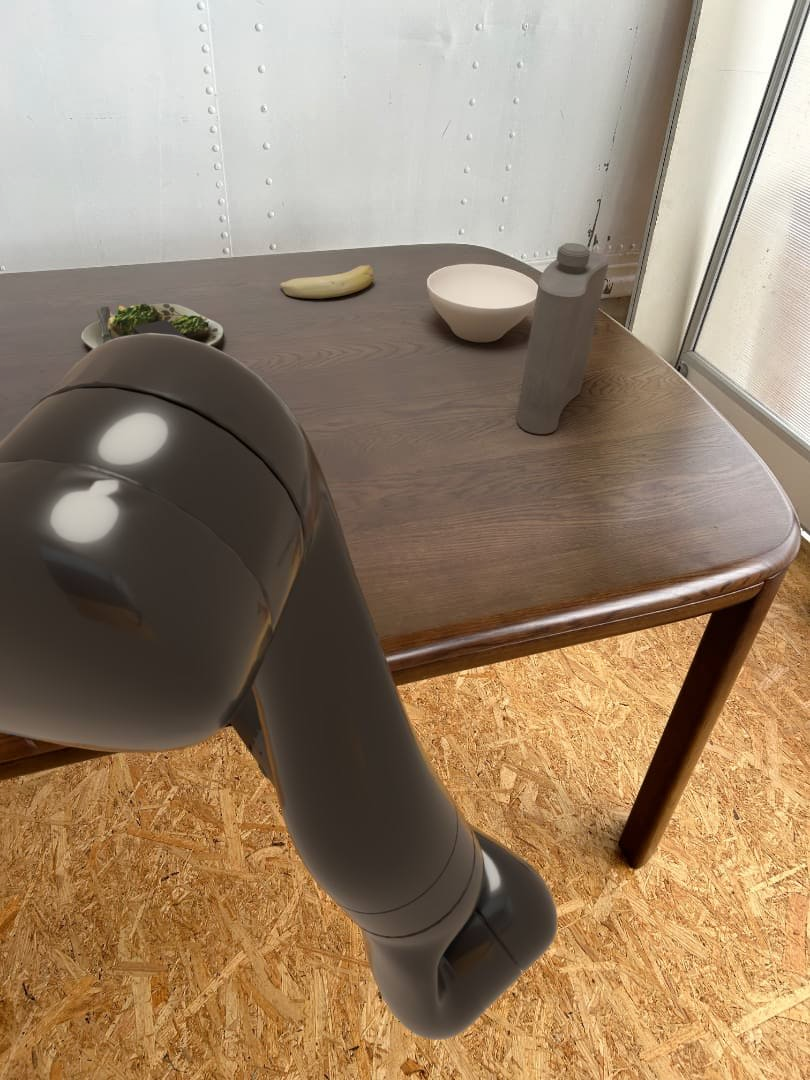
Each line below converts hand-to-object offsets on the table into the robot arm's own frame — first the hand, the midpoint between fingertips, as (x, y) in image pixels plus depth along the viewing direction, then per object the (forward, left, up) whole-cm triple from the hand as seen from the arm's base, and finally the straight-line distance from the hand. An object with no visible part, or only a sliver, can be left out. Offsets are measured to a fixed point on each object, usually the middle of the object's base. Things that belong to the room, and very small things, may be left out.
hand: (198, 590), depth 62 cm
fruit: (+33, +68, -6) cm, 76 cm away
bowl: (+49, +48, -6) cm, 69 cm away
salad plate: (+4, +56, -6) cm, 56 cm away
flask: (+48, +26, -6) cm, 55 cm away
